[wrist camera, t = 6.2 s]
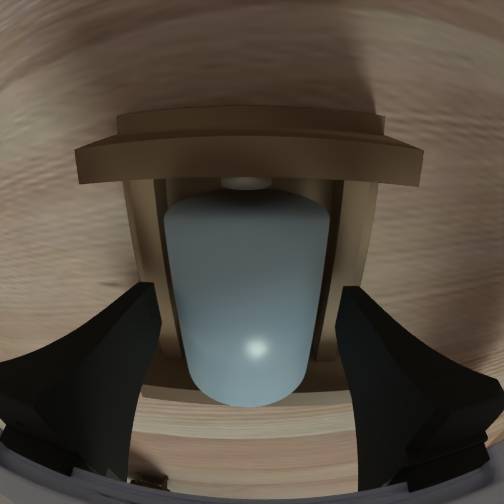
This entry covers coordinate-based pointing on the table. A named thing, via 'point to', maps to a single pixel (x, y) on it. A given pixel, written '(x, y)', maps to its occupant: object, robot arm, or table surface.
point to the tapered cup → (247, 289)
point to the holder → (251, 178)
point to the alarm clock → (149, 485)
